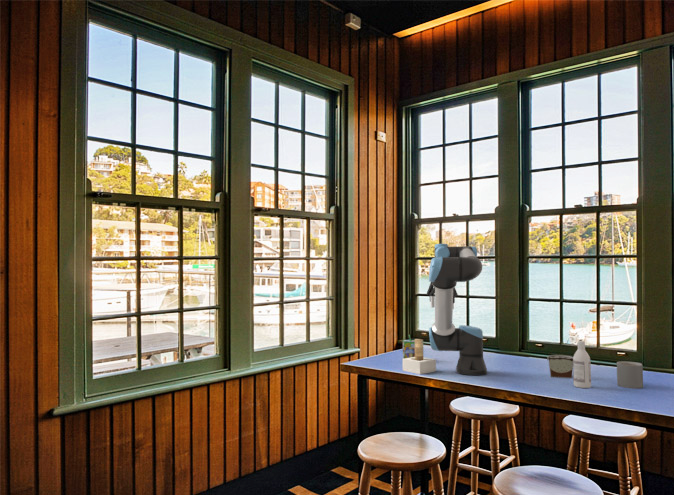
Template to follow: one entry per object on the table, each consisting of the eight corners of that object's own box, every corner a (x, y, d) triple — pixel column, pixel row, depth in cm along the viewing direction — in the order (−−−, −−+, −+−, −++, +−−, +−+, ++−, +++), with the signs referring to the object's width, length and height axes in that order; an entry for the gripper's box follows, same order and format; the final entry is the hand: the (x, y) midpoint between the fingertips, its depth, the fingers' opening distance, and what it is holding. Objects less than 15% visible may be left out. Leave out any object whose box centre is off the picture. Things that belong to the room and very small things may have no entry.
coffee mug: (640, 389, 209) (639, 366, 209) (614, 386, 215) (614, 363, 216) (647, 384, 219) (646, 362, 219) (622, 381, 225) (621, 359, 226)
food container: (572, 375, 237) (572, 355, 238) (575, 378, 231) (574, 357, 232) (545, 374, 240) (545, 354, 241) (547, 376, 235) (547, 356, 235)
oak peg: (425, 371, 249) (425, 339, 250) (419, 372, 246) (419, 340, 247) (419, 369, 252) (418, 338, 253) (413, 370, 250) (412, 339, 250)
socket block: (435, 371, 248) (435, 359, 248) (419, 374, 241) (419, 362, 241) (418, 367, 258) (418, 356, 258) (402, 370, 250) (402, 358, 251)
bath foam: (585, 384, 218) (583, 340, 219) (594, 388, 211) (593, 342, 212) (570, 385, 218) (569, 340, 219) (579, 388, 211) (578, 342, 212)
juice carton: (420, 362, 274) (420, 335, 274) (404, 362, 274) (404, 335, 275) (418, 359, 283) (417, 333, 284) (402, 359, 283) (402, 333, 284)
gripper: (463, 270, 267) (464, 309, 267) (428, 270, 287) (429, 306, 286) (455, 271, 263) (455, 310, 262) (420, 270, 282) (420, 307, 281)
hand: (441, 308), depth 274 cm, fingers open, 13 cm apart
